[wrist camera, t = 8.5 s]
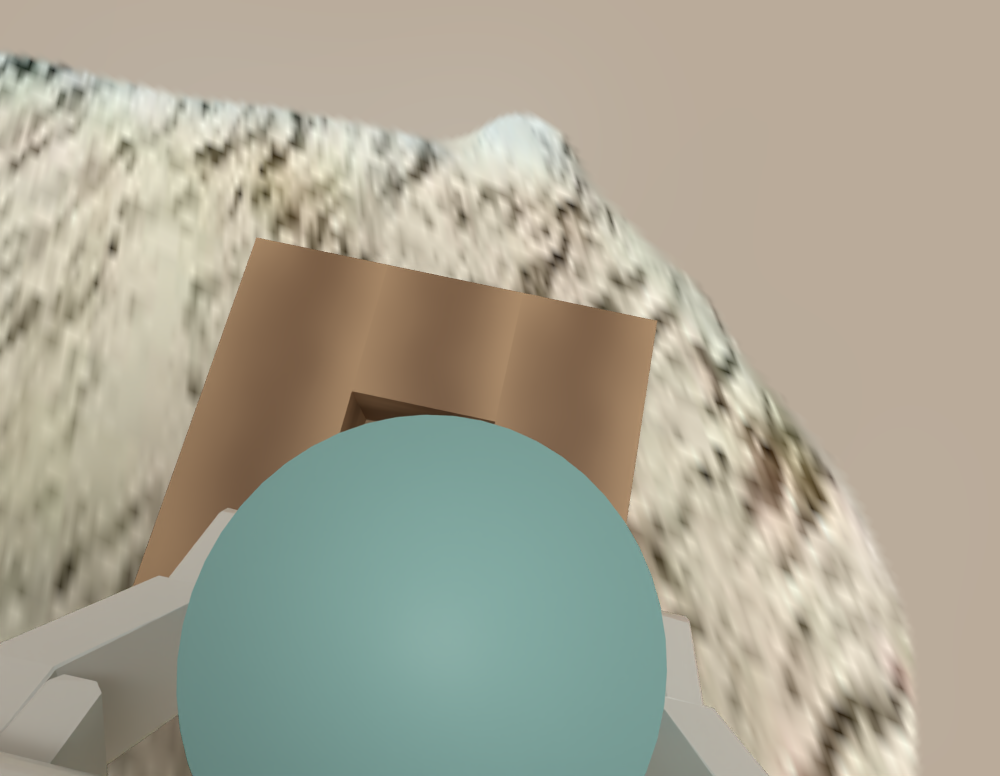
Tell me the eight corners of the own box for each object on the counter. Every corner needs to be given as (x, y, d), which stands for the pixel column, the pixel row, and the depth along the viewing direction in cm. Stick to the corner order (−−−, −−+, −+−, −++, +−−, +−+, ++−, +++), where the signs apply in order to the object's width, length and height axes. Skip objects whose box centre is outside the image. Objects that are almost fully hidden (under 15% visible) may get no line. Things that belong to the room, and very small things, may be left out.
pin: (334, 705, 16) (97, 864, 5) (384, 524, 17) (268, 370, 7) (512, 748, 16) (622, 993, 5) (550, 563, 17) (696, 470, 7)
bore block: (160, 657, 28) (105, 663, 24) (284, 287, 33) (256, 237, 29) (569, 748, 28) (588, 771, 23) (632, 360, 33) (657, 320, 28)
